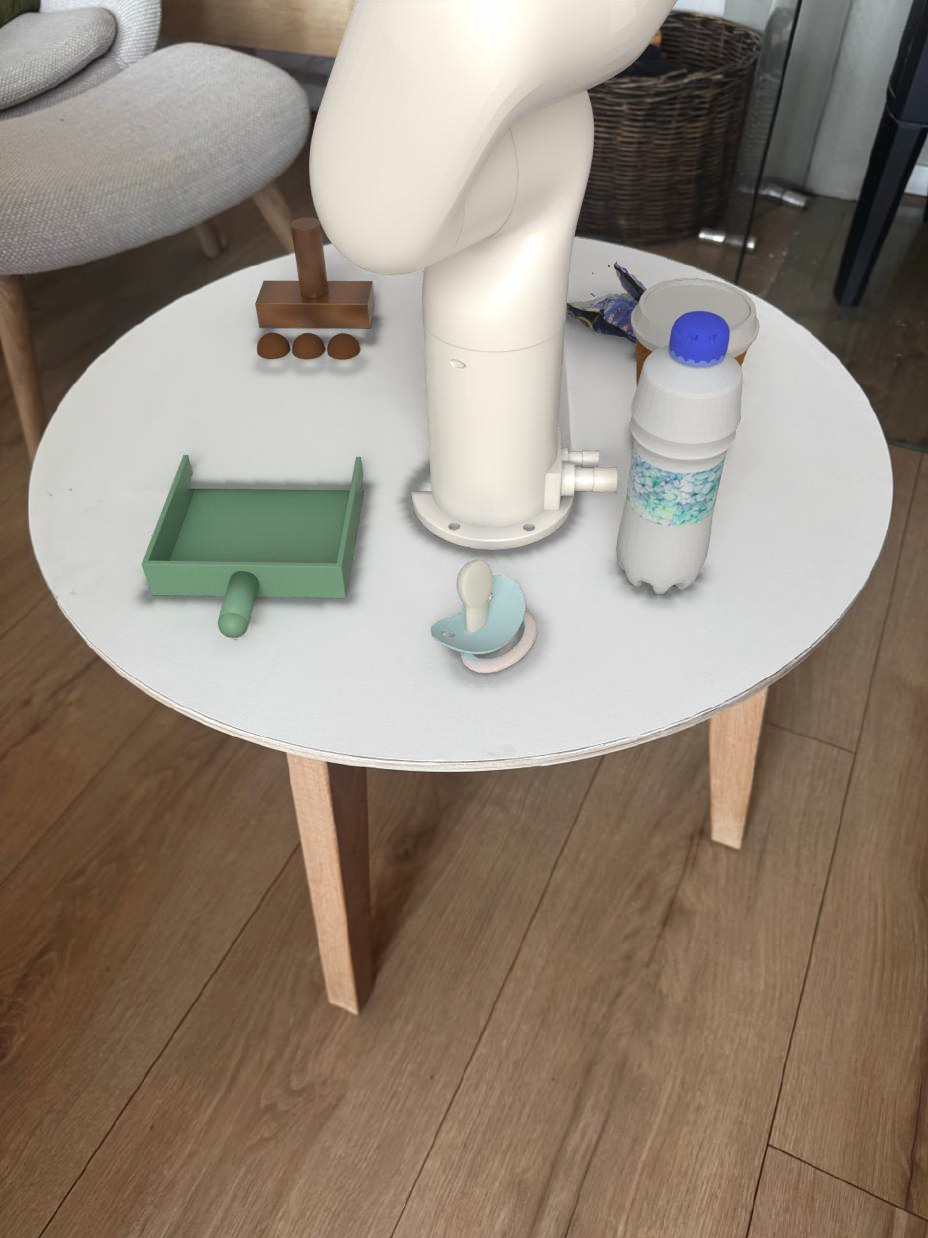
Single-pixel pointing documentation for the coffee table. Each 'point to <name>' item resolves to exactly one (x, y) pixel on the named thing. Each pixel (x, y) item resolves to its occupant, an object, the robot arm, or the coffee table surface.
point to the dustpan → (253, 544)
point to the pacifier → (487, 619)
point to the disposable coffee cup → (686, 296)
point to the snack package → (611, 308)
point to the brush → (313, 290)
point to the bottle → (678, 452)
